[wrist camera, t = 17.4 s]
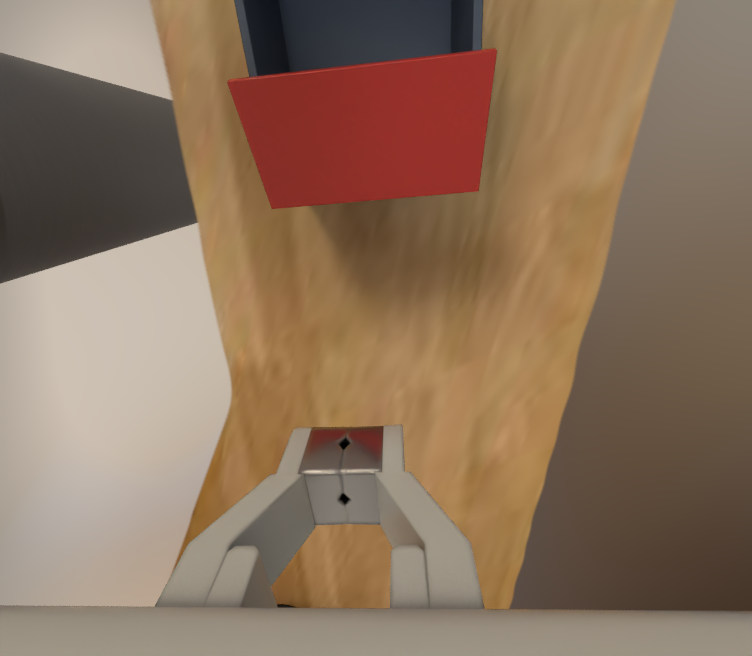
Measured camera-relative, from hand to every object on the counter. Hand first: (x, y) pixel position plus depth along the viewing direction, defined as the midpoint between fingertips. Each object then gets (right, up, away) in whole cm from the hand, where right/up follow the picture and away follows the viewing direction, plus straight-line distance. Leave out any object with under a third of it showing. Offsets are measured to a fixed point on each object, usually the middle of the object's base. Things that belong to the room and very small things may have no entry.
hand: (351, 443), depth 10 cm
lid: (0, +14, +10) cm, 17 cm away
